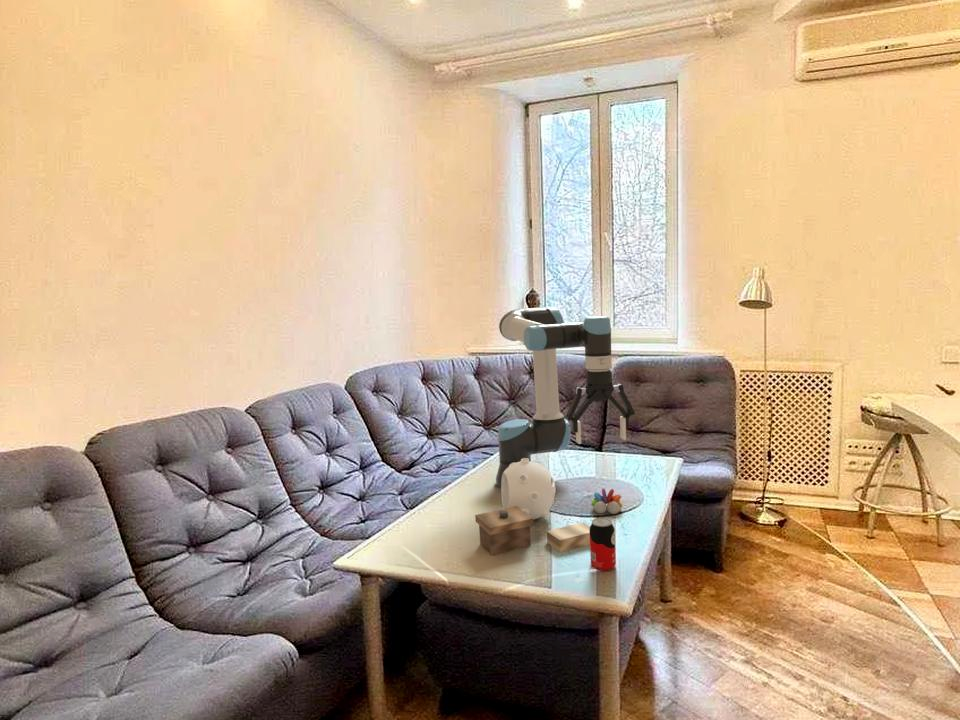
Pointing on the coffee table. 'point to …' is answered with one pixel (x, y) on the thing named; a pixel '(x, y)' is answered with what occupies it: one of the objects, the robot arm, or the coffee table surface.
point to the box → (505, 540)
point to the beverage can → (602, 544)
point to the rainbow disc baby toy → (606, 502)
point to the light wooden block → (569, 537)
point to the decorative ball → (528, 488)
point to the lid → (504, 520)
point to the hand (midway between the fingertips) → (601, 440)
